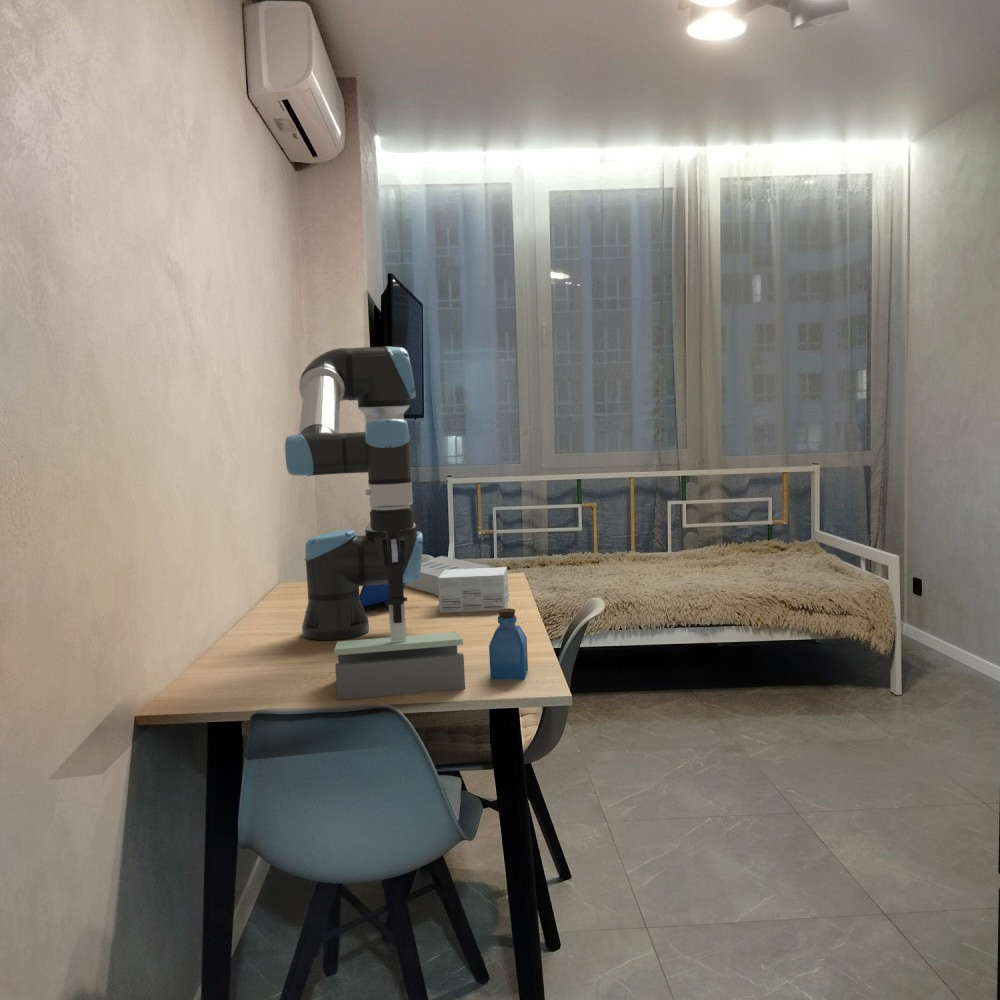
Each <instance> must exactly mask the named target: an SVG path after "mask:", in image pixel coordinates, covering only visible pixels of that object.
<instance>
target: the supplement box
mask: <svg viewBox="0 0 1000 1000" xmlns="http://www.w3.org/2000/svg"><path fill="white" fill-rule="evenodd" d="M438 594H439V595H438V612H439V613H440V614H441V613H467V612H468V613H469V612H471V613H472V612H474V613H475V612H478V613H479V612H498V610H500V609H507V606H508V604H509V602H510V596H509V595H510V593H509V578H508V567H507V566H501V567H499V566H498V567H497V566H496V567H493V568H474V569H450V570H444V571H443V573H442V574H441V575H440V576H439V577H438Z"/></svg>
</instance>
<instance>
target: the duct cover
mask: <svg viewBox="0 0 1000 1000" xmlns="http://www.w3.org/2000/svg"><path fill="white" fill-rule="evenodd" d="M456 645H457V646H463V645H464V640H463V638H462V637H461V636H460V635H459V634H458V633H457V632H456V631H453V632H440V633H429V634H427V633H426V634H418V635H406V640H400V641H391V636H390V637H379V638H376V637H375V638H366V639H353V640H352V639H351V640H342V641H341V640H340V641H336V645H335V647H334V650H333V651H334V656H338V655H346V654H358V653H370V652H382V651H395V650H407V649H419V648H432V647H444V646H456Z"/></svg>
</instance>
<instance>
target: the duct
mask: <svg viewBox="0 0 1000 1000" xmlns="http://www.w3.org/2000/svg"><path fill="white" fill-rule="evenodd" d="M464 657H465V656H464V653H463V652H458V645H456V646H444V647H432V648H419V649H407V650H395V651H382V652H370V653H358V654H346V655H337V662H336V663H335V665H334V666H335V669H334V670H335V682H336V685H335V686H336V700H337V701H343V700H351V699H352V700H356V699H364V698H376V697H388V696H399V695H409V694H421V693H430V692H431V693H432V692H433V693H435V692H443V691H455V690H465V689H466V679H465V676H466V675H465V660H464V659H465V658H464Z"/></svg>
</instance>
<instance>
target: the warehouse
mask: <svg viewBox="0 0 1000 1000" xmlns="http://www.w3.org/2000/svg"><path fill="white" fill-rule="evenodd" d="M474 568H494V566H493V565H489V564H484V563H479V562H474V561H469V560H465V559H459V558H454V557H450V556H444V555H440V556H437V557H433V558H429V559H426V560H423V561H422V562H421V570H420V575H419V577H418V579H417V580H416V581H414V582H407V583H406V584H405V587H407V588H412V589H415V590H418V591H422V592H425V591H426V593H429V594H432V593H433V594H432V595H437V596H439V594H438V577H439V576H440V575H441V574H442V573H443V571H444V570H450V569H474Z"/></svg>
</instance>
